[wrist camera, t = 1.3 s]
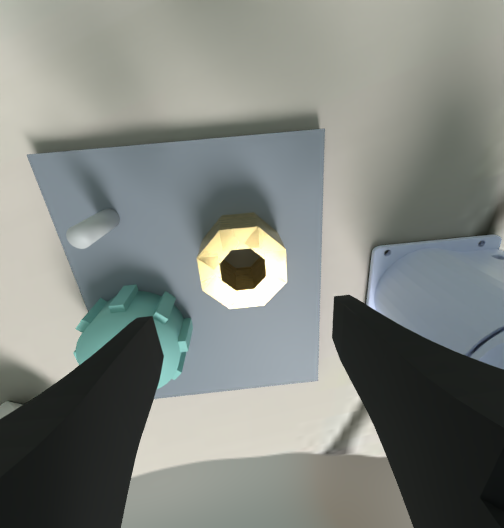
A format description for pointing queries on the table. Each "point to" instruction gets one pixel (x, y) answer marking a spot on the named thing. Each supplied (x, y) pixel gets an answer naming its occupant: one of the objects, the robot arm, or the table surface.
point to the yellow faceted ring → (245, 278)
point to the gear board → (193, 251)
